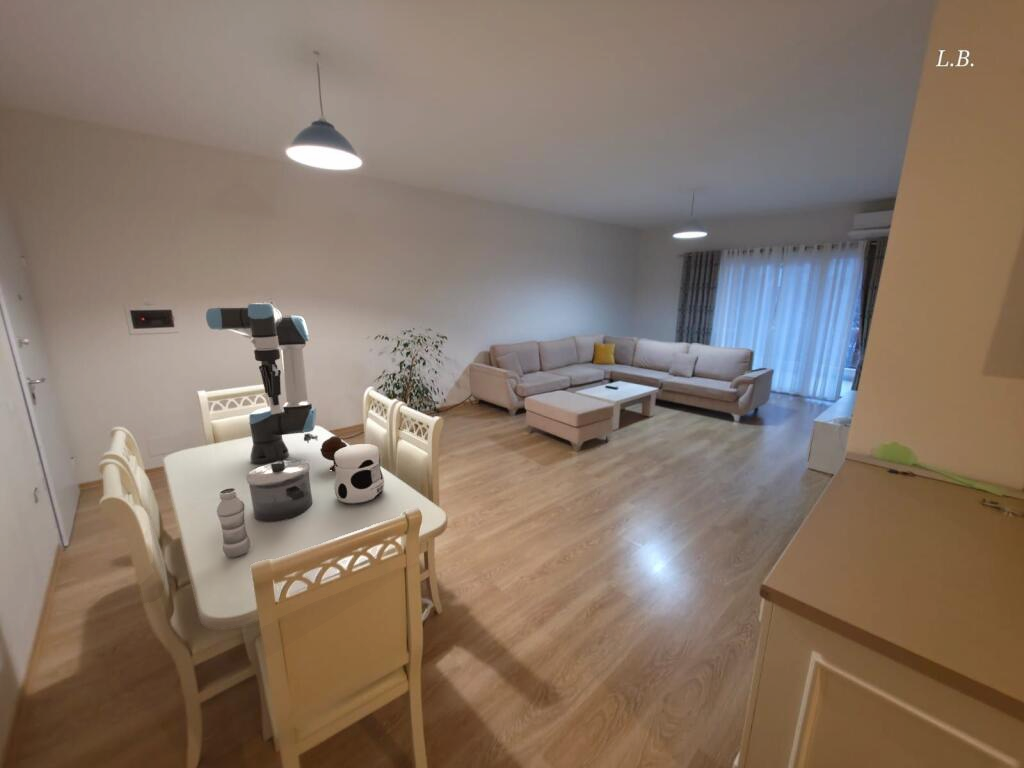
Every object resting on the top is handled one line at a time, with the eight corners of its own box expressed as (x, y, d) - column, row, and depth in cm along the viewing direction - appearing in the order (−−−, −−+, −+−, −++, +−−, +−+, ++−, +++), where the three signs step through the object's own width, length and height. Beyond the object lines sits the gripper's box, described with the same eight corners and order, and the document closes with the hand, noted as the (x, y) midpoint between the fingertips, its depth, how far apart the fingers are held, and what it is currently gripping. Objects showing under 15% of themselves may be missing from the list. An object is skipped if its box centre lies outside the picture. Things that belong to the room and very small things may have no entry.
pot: (246, 509, 141) (241, 478, 139) (299, 490, 155) (295, 461, 152) (272, 535, 126) (267, 500, 124) (329, 512, 140) (325, 480, 137)
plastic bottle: (232, 547, 120) (221, 486, 116) (256, 546, 121) (246, 485, 116) (219, 561, 114) (207, 497, 110) (244, 560, 115) (233, 496, 110)
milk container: (335, 490, 155) (331, 446, 151) (382, 482, 162) (379, 440, 158) (335, 512, 139) (330, 464, 135) (387, 502, 146) (384, 456, 142)
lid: (237, 476, 139) (235, 465, 139) (295, 459, 153) (293, 449, 153) (258, 490, 126) (256, 478, 126) (319, 470, 140) (317, 460, 140)
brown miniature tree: (354, 463, 179) (351, 431, 176) (341, 474, 169) (337, 440, 165) (331, 462, 180) (328, 431, 177) (317, 473, 170) (313, 440, 166)
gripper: (247, 347, 141) (257, 411, 147) (261, 352, 133) (271, 419, 138) (270, 345, 146) (279, 407, 152) (285, 349, 138) (294, 414, 144)
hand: (275, 413), depth 145 cm, fingers closed
